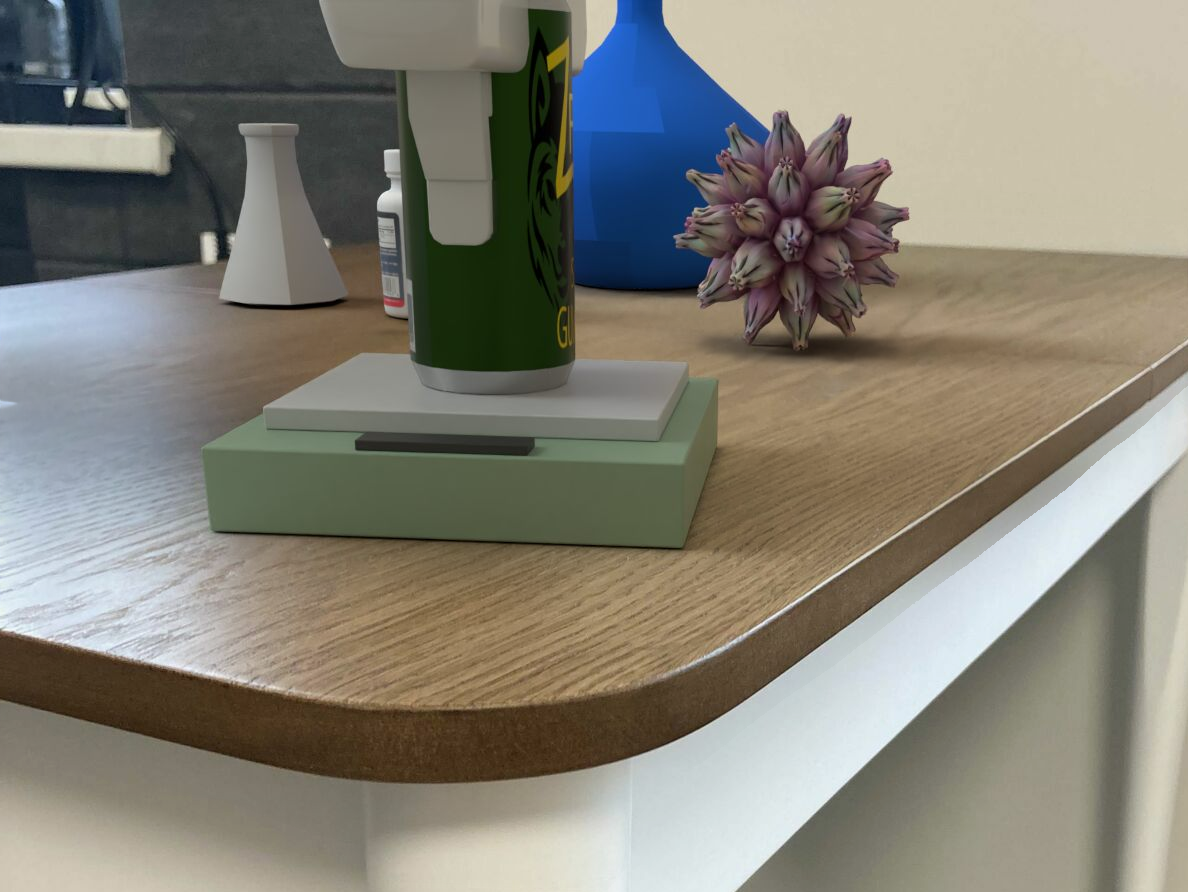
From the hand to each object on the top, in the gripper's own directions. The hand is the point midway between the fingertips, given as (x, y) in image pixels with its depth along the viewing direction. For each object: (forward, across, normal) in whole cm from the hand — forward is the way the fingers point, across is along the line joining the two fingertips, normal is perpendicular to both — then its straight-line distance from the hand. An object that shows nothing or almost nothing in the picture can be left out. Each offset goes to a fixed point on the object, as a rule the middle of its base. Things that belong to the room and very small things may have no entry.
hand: (488, 234), depth 48 cm
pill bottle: (+8, -39, -12) cm, 42 cm away
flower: (+8, -31, +9) cm, 33 cm away
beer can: (+5, 0, 0) cm, 5 cm away
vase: (+8, -58, -2) cm, 59 cm away
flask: (+8, -43, -22) cm, 49 cm away
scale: (+8, +1, 0) cm, 8 cm away
